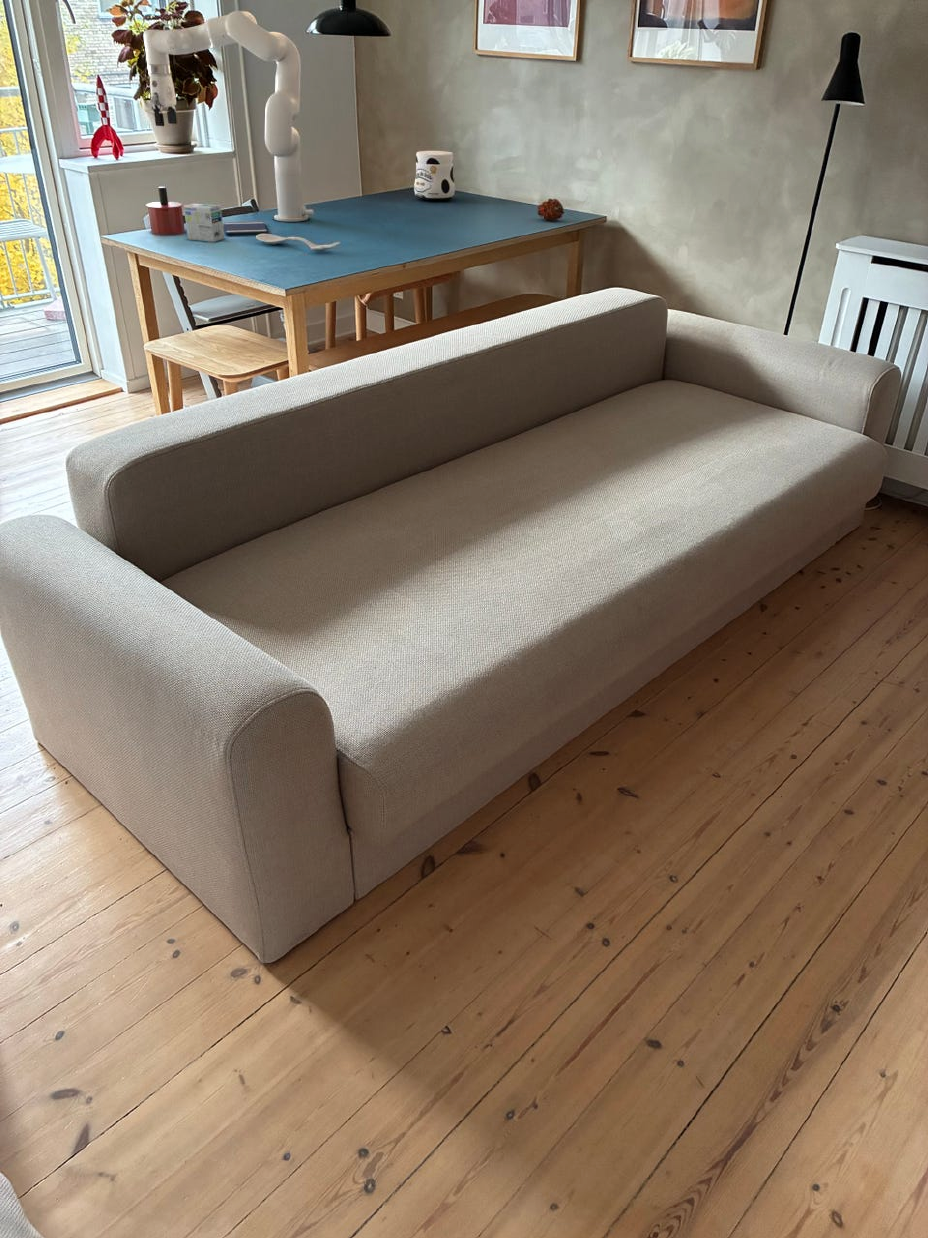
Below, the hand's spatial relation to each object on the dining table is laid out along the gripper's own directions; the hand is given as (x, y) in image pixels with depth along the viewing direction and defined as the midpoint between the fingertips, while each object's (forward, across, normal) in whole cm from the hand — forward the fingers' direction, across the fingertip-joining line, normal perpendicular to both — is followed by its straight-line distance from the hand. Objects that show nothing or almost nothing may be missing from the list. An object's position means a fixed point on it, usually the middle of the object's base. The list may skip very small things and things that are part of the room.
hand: (166, 124), depth 345 cm
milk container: (+31, +67, -85) cm, 112 cm away
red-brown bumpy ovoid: (+31, +32, -138) cm, 145 cm away
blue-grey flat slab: (+30, -22, -37) cm, 52 cm away
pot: (+31, -34, -13) cm, 47 cm away
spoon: (+31, -46, -64) cm, 85 cm away
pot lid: (+22, -34, -13) cm, 42 cm away
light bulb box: (+31, -41, -31) cm, 60 cm away
